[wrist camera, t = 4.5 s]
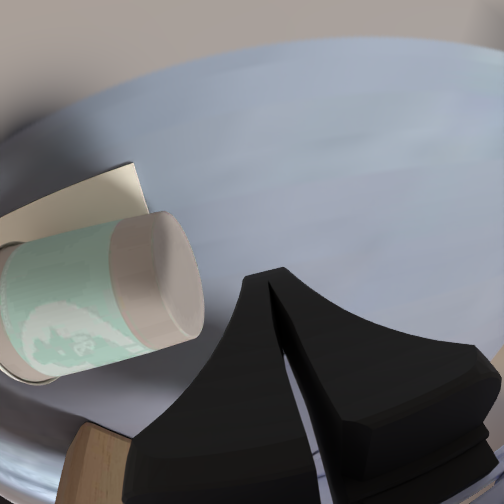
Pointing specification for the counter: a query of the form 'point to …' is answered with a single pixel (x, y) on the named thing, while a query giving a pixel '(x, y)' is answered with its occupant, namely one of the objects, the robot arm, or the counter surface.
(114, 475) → the wooden block
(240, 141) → the counter surface
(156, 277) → the coffee cup
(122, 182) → the mat
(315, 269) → the counter surface
